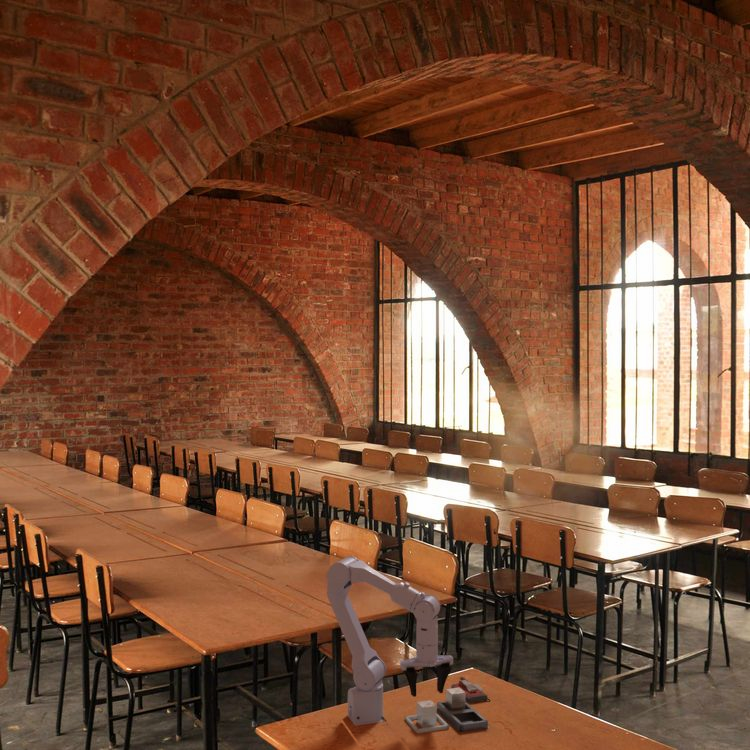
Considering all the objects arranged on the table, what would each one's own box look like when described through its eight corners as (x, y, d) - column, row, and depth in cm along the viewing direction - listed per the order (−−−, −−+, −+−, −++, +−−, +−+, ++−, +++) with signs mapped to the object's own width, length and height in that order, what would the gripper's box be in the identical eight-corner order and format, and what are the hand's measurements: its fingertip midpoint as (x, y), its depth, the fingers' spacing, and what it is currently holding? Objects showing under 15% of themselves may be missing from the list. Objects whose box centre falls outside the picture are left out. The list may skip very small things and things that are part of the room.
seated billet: (452, 716, 227) (452, 694, 227) (446, 710, 231) (446, 689, 231) (465, 714, 228) (465, 692, 228) (459, 708, 232) (459, 687, 232)
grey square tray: (417, 737, 216) (417, 730, 216) (404, 723, 224) (404, 716, 224) (448, 733, 219) (448, 725, 219) (435, 719, 227) (435, 712, 227)
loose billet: (422, 730, 219) (422, 707, 219) (416, 724, 223) (416, 701, 223) (436, 728, 220) (436, 705, 220) (430, 722, 224) (430, 700, 224)
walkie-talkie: (497, 706, 238) (464, 681, 256) (497, 690, 238) (464, 667, 256) (470, 710, 235) (438, 685, 253) (470, 694, 235) (438, 671, 253)
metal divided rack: (458, 737, 216) (458, 725, 216) (435, 713, 232) (435, 702, 232) (490, 732, 219) (490, 721, 219) (464, 709, 234) (464, 698, 234)
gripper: (406, 650, 215) (406, 702, 216) (458, 644, 220) (457, 695, 220) (397, 641, 222) (397, 692, 222) (447, 636, 227) (447, 686, 227)
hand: (426, 693), depth 222 cm, fingers open, 7 cm apart
